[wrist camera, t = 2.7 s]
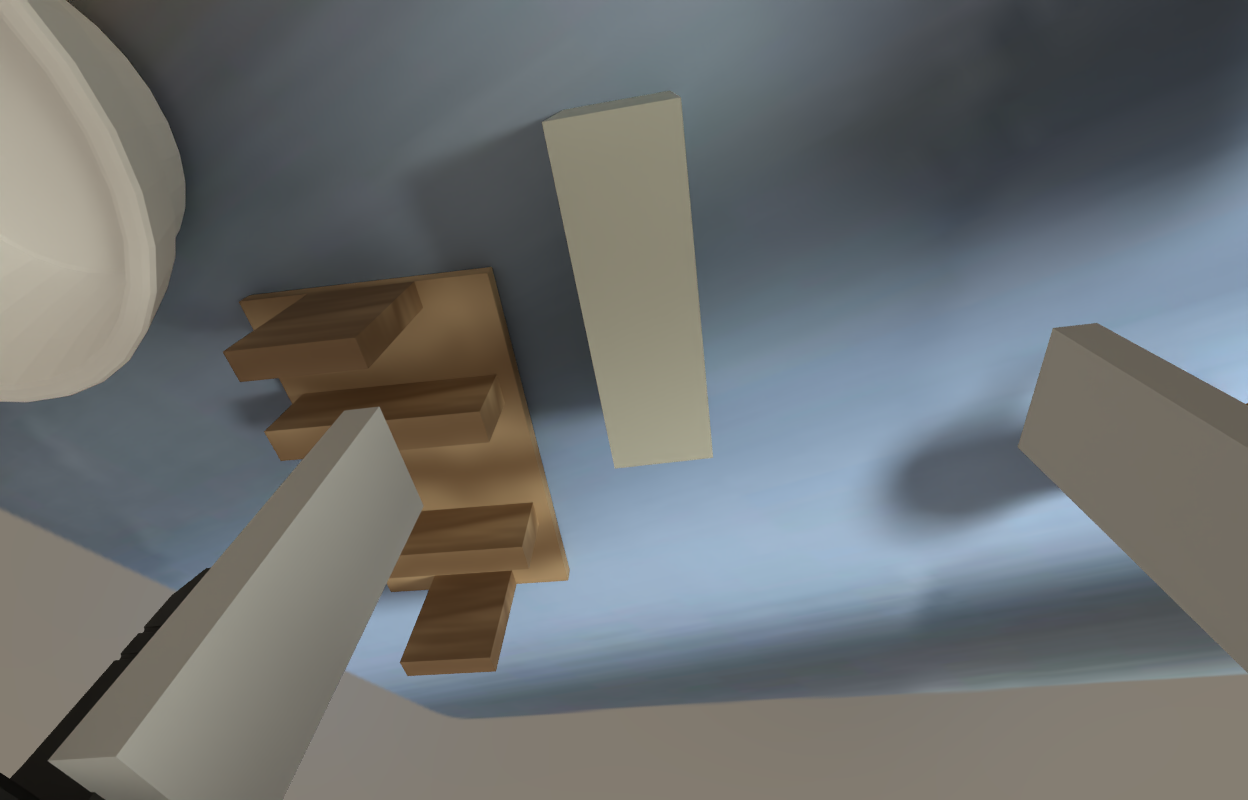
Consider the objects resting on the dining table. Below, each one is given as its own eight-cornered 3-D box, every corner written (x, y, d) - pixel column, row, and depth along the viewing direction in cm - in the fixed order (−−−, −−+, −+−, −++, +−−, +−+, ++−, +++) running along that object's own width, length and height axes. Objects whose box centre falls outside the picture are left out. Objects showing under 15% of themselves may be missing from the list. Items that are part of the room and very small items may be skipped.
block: (564, 109, 25) (541, 121, 19) (670, 90, 25) (680, 97, 19) (618, 397, 34) (615, 468, 28) (699, 387, 33) (712, 457, 27)
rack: (249, 295, 30) (137, 361, 23) (491, 266, 29) (447, 327, 22) (396, 581, 43) (350, 678, 36) (569, 569, 42) (556, 668, 35)
